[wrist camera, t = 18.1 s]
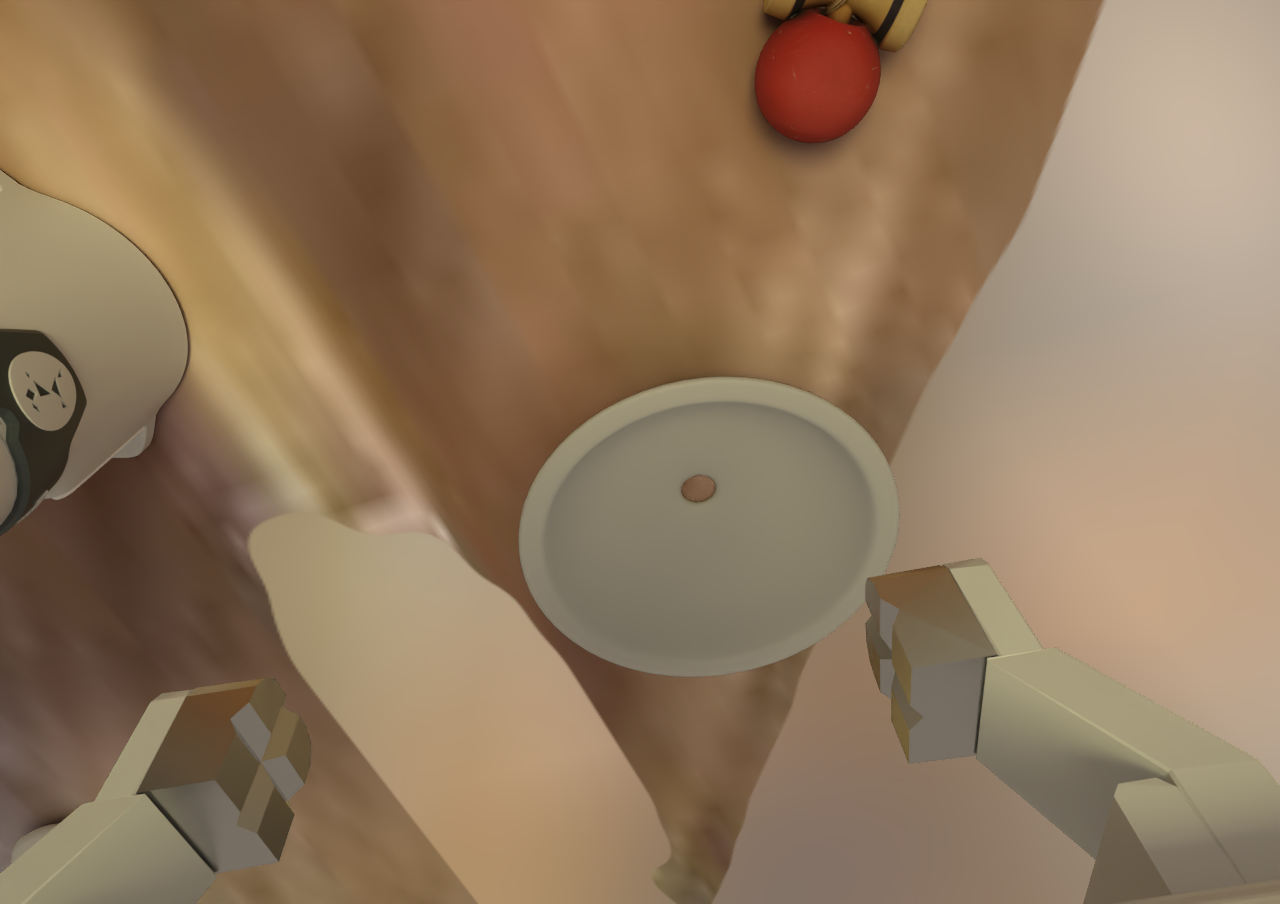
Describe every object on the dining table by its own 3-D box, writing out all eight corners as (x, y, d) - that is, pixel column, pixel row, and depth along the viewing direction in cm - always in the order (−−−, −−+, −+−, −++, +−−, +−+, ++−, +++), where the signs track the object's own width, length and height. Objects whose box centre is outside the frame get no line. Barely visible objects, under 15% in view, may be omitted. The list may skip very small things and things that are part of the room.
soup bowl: (556, 295, 47) (553, 343, 42) (925, 365, 51) (966, 418, 46) (502, 590, 60) (494, 657, 54) (802, 628, 64) (822, 694, 58)
